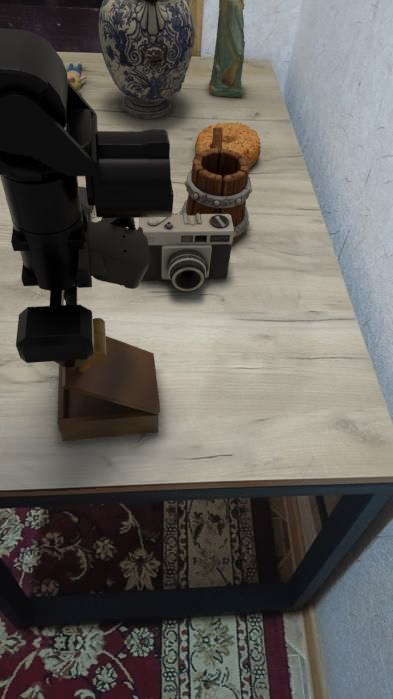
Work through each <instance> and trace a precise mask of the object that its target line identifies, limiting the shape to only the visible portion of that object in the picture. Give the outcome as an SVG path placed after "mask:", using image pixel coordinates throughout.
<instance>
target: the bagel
mask: <svg viewBox="0 0 393 699" xmlns="http://www.w3.org/2000/svg"><path fill="white" fill-rule="evenodd" d="M214 127H221V128H222V149H229V150H232V151H235V152H237V153H239V154H240V155H242V158H245V159H246V160H247V161H248V164H249V169H250V168H251V167H253V165H255V163H256V162H257V161H258V159H259V156H260V155H261V147H262V146H261V138H260V137H259V135H258V132H257V131H256V130H255V129H252V128H251V127H250V126H248V125H246V124H244V123H243V122H239V121H238V122H237V121H236V122H231V121H230V122H229V121H227V122H223V123H221V122H218V123H216V124H211V125H208V126H207V127H204V129H202V130H201V131H200V132H199V133H198V135H196V136H195V137H196V141H195V144H194V146H195V153H196V155H197V154H199V153H200V152H202V151H204V150H207V149H210V144H211V143H212V140H213V128H214Z"/></svg>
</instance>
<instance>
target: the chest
mask: <svg viewBox="0 0 393 699" xmlns="http://www.w3.org/2000/svg"><path fill="white" fill-rule="evenodd" d="M159 414H160V413H158V414H153V413H149V412H146V411H142V410H139V409H135V408H132V407H128V406H124V405H121V404H117V403H114V402H110V401H106V400H103V399H99V398H96V397H92V396H89V395H85V394H81V393H78V392H74V391H71V390H67V389H63V388H62V366H61V365H59V364H58V388H57V419H56V420H57V422H56V423H57V424H56V425H57V427H58V430H59V431H58V432H59V434H60V437H61V441H62V442H70V441H81V440H90V439H100V438H102V439H103V438H112V437H121V436H122V437H123V436H132V435H142V434H153V433H154V434H155V433H159V424H160V423H159V420H160V419H159V418H160V415H159Z"/></svg>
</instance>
